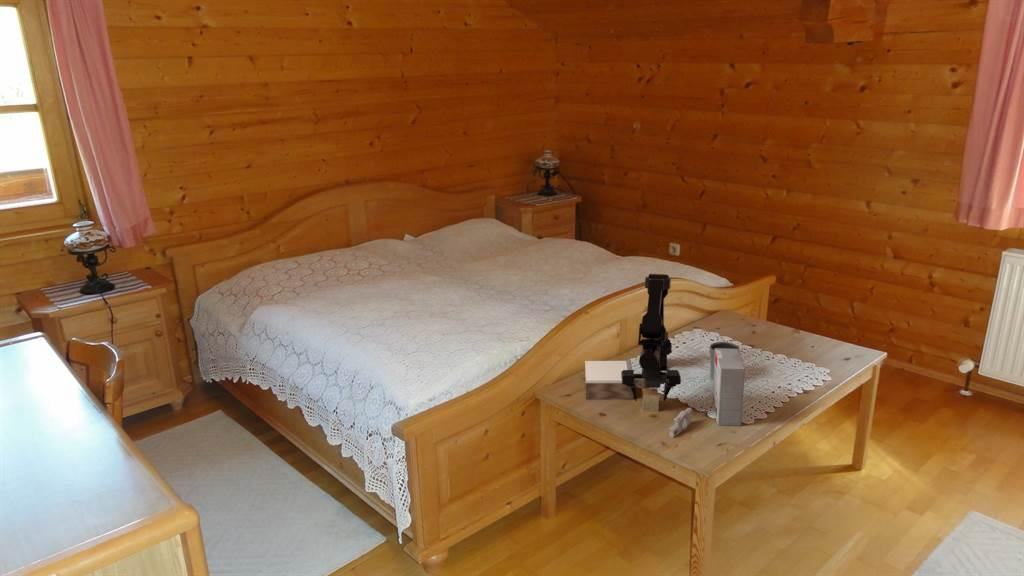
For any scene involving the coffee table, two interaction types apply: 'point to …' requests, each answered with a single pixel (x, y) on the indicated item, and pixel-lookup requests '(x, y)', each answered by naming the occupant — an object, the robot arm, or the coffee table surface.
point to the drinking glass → (712, 353)
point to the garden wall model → (681, 422)
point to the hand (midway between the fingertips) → (650, 400)
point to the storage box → (608, 391)
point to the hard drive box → (728, 386)
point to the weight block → (650, 400)
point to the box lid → (606, 371)
